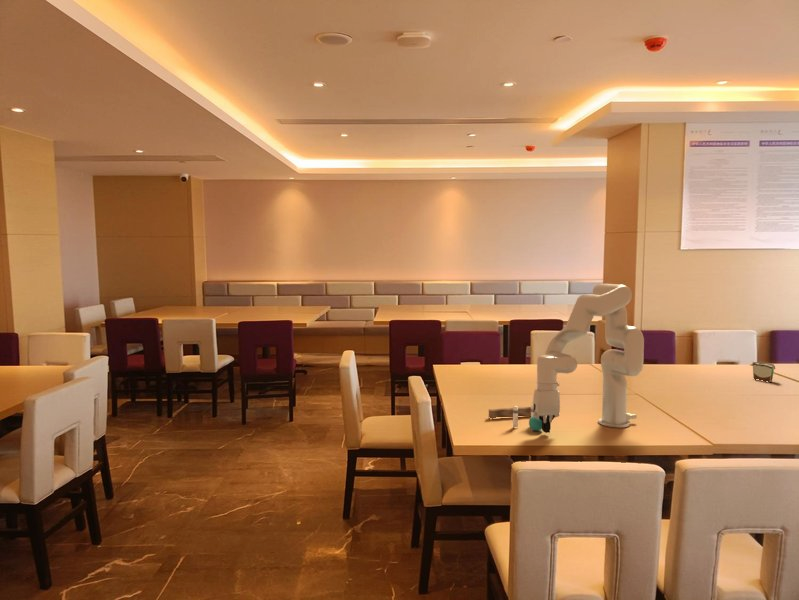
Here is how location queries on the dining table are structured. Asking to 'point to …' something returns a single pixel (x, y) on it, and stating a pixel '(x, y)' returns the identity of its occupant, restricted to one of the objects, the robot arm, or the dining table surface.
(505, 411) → the back wall
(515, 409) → the pin
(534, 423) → the ball
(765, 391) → the dining table surface
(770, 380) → the food container
